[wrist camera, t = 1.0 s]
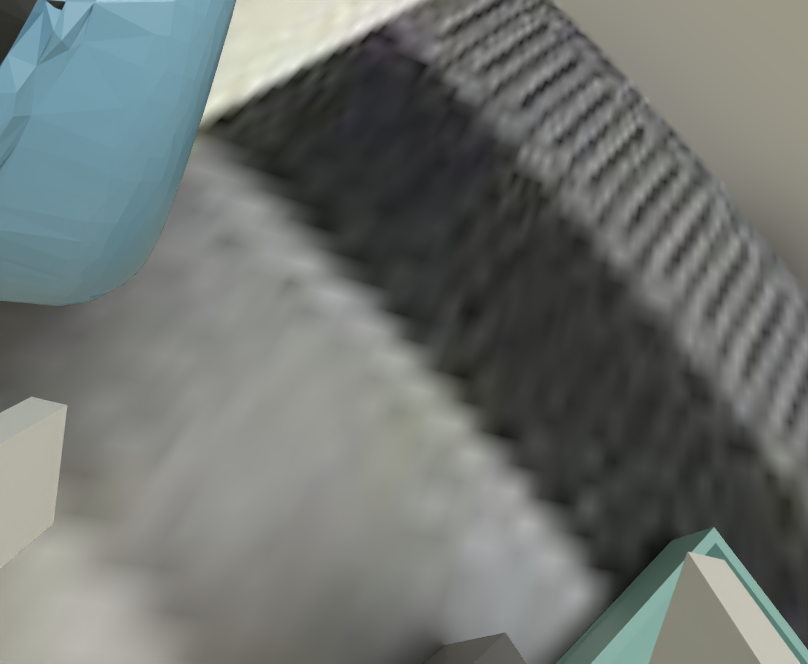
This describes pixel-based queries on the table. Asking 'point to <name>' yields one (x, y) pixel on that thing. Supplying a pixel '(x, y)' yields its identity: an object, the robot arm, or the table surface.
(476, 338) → the table surface
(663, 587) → the parts tray
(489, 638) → the socket block
